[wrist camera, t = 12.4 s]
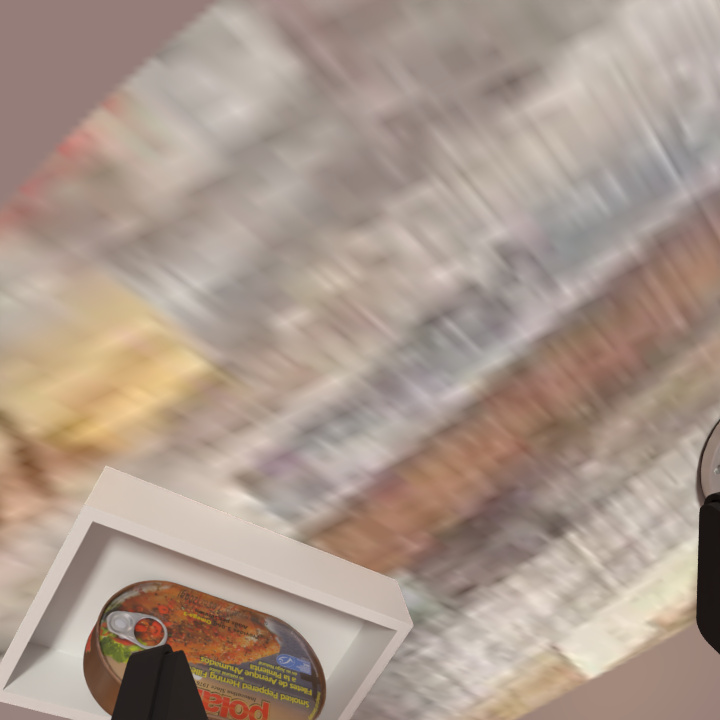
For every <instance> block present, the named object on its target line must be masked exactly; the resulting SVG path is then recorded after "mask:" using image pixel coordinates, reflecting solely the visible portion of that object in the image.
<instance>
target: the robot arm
mask: <svg viewBox="0 0 720 720" xmlns="http://www.w3.org/2000/svg"><path fill="white" fill-rule="evenodd" d="M701 484H702V488H703V493H704V495H705V497H706V499H705V503H704V505H703V506H702V507H701V508H700V512H699V545H698V579H697V614H696V620H697V625H698V628H699V630H700V632H701V634H702V636H703V637H704V638H705V640H706V641H707V642H708V643H709V644H710V645H711V646H712V647H713V648H714V649H715V650H716V651H717V652H718V653H719V654H720V422H719V423H718V425H717V426H716V428H715V430H714V431H713V433H712V435H711V437H710V439H709V441H708V444H707V446H706V449H705V452H704V455H703V461H702V466H701ZM111 720H209V719H208V717H207V714H206V711H205V708H204V705H203V703H202V700H201V697H200V694H199V691H198V689H197V686H196V683H195V680H194V677H193V675H192V672H191V669H190V666H189V663H188V661H187V658H186V655H185V653H184V651H183V650H179V651H175V652H173V650H172V647H171V646H170V645H169V644H164V645H161V646H157V647H153V648H150V649H146V650H142V651H139V652H135V653H132V654H131V655H130V657H129V659H128V661H127V665H126V668H125V672H124V675H123V679H122V682H121V686H120V689H119V693H118V696H117V700H116V703H115V707H114V710H113V714H112V717H111Z"/></svg>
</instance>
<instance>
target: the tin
mask: <svg viewBox="0 0 720 720" xmlns="http://www.w3.org/2000/svg"><path fill="white" fill-rule="evenodd" d="M164 644H169V645H170V646H171V647H172V650H173V652H175V651H179V650H183V651H184V653H185V655H186V658H187V661H188V663H189V666H190V669H191V672H192V675H193V677H194V680H195V683H196V686H197V689H198V691H199V694H200V697H201V700H202V703H203V705H204V708H205V711H206V714H207V717H208V719H209V720H317V718H318V717H319V715H320V714H321V711H322V709H323V707H324V704H325V699H326V680H325V675H324V672H323V668H322V666H321V663H320V661H319V659H318V657H317V655H316V654H315V652H314V650H313V649H312V647H311V646H310V644H309V643H308V642H307V641H306V639H305V638H304V637H303V636H302V635H301V634H300V633H299V632H298V631H297V630H296V629H294V628H293V627H292V626H290V625H289V624H288V623H286V622H284V621H283V620H281V619H279V618H277V617H275V616H272V615H269V614H266V613H263V612H260V611H257V610H254V609H251V608H248V607H245V606H242V605H239V604H236V603H233V602H230V601H227V600H224V599H221V598H218V597H215V596H212V595H210V594H207V593H204V592H201V591H198V590H195V589H192V588H189V587H186V586H183V585H180V584H177V583H173V582H169V581H161V580H148V581H141V582H137V583H133V584H131V585H128V586H126V587H124V588H122V589H121V590H119V591H118V592H116V593H115V594H114V595H113V596H112V597H111V598H110V599H109V600H108V601H107V602H106V604H105V605H104V606H103V608H102V610H101V612H100V614H99V617H98V620H97V622H96V624H95V625H94V627H93V629H92V631H91V633H90V635H89V637H88V639H87V643H86V646H85V650H84V656H83V672H84V677H85V681H86V683H87V686H88V688H89V691H90V692H91V694H92V696H93V698H94V699H95V700H96V702H97V703H98V704H99V706H100V707H101V708H102V709H103V710H104V711H105V712H107V713H108V714H109V715H110V716H112V714H113V710H114V707H115V703H116V700H117V696H118V693H119V689H120V686H121V682H122V679H123V675H124V672H125V668H126V665H127V661H128V659H129V657H130V655H131V654H132V653H135V652H139V651H142V650H146V649H150V648H153V647H157V646H161V645H164Z"/></svg>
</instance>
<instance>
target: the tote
mask: <svg viewBox="0 0 720 720" xmlns="http://www.w3.org/2000/svg"><path fill="white" fill-rule="evenodd" d="M148 580H161V581H169V582H173V583H177V584H180V585H183V586H186V587H189V588H192V589H195V590H198V591H201V592H204V593H207V594H210V595H212V596H215V597H218V598H221V599H224V600H227V601H230V602H233V603H236V604H239V605H242V606H245V607H248V608H251V609H254V610H257V611H260V612H263V613H266V614H269V615H272V616H275V617H277V618H279V619H281V620H283V621H284V622H286V623H288V624H289V625H290V626H292V627H293V628H294V629H296V630H297V631H298V632H299V633H300V634H301V635H302V636H303V637H304V638H305V639H306V641H307V642H308V643H309V644H310V646H311V647H312V649H313V650H314V652H315V654H316V655H317V657H318V659H319V661H320V663H321V666H322V668H323V672H324V675H325V680H326V699H325V704H324V707H323V709H322V711H321V714H320V715H319V717H318V718H317V720H350V718H351V717H352V716H353V714H354V713H355V711H356V710H357V708H358V707H359V705H360V704H361V702H362V701H363V699H364V698H365V696H366V695H367V693H368V692H369V690H370V689H371V687H372V686H373V684H374V683H375V682H376V680H377V679H378V677H379V676H380V674H381V673H382V671H383V670H384V668H385V667H386V665H387V664H388V662H389V661H390V659H391V658H392V656H393V655H394V653H395V652H396V650H397V649H398V648H399V646H400V645H401V643H402V642H403V640H404V639H405V637H406V636H407V634H408V633H409V631H410V630H411V628H412V627H413V623H412V620H411V617H410V615H409V612H408V609H407V607H406V604H405V601H404V598H403V596H402V593H401V590H400V588H399V585H398V582H397V580H395V579H392V578H390V577H387V576H385V575H382V574H380V573H377V572H375V571H372V570H370V569H367V568H365V567H362V566H359V565H357V564H354V563H352V562H349V561H347V560H344V559H342V558H339V557H337V556H334V555H332V554H329V553H327V552H324V551H321V550H319V549H316V548H314V547H311V546H309V545H306V544H304V543H301V542H299V541H296V540H294V539H291V538H289V537H286V536H283V535H281V534H278V533H276V532H273V531H271V530H268V529H266V528H263V527H261V526H258V525H256V524H253V523H251V522H248V521H245V520H243V519H240V518H238V517H235V516H233V515H230V514H228V513H225V512H223V511H220V510H218V509H215V508H213V507H210V506H207V505H205V504H202V503H200V502H197V501H195V500H192V499H190V498H187V497H185V496H182V495H180V494H177V493H175V492H172V491H169V490H167V489H164V488H162V487H159V486H157V485H154V484H152V483H149V482H147V481H144V480H142V479H139V478H137V477H134V476H131V475H129V474H126V473H124V472H121V471H119V470H116V469H114V468H111V467H109V466H105V468H104V470H103V472H102V473H101V475H100V477H99V479H98V481H97V482H96V484H95V486H94V488H93V490H92V491H91V493H90V495H89V497H88V499H87V500H86V502H85V504H84V506H83V508H82V510H81V512H80V513H79V515H78V517H77V519H76V521H75V523H74V525H73V527H72V529H71V531H70V532H69V534H68V536H67V538H66V540H65V542H64V544H63V546H62V548H61V550H60V551H59V553H58V555H57V557H56V559H55V561H54V563H53V565H52V567H51V568H50V570H49V572H48V574H47V576H46V578H45V580H44V582H43V584H42V586H41V587H40V589H39V591H38V593H37V595H36V597H35V599H34V601H33V603H32V605H31V606H30V608H29V610H28V612H27V614H26V616H25V618H24V620H23V622H22V623H21V625H20V627H19V629H18V631H17V633H16V635H15V637H14V639H13V641H12V642H11V644H10V646H9V648H8V650H7V652H6V654H5V656H4V658H3V660H2V661H1V663H0V702H4V703H8V704H12V705H16V706H21V707H25V708H29V709H33V710H37V711H41V712H45V713H49V714H53V715H57V716H61V717H65V718H69V719H74V720H111V717H112V716H110V715H109V714H108V713H107V712H105V711H104V710H103V709H102V708H101V707H100V706H99V704H98V703H97V702H96V700H95V699H94V698H93V696H92V694H91V692H90V691H89V688H88V686H87V683H86V681H85V677H84V672H83V656H84V650H85V646H86V643H87V639H88V637H89V635H90V633H91V631H92V629H93V627H94V625H95V624H96V622H97V620H98V617H99V614H100V612H101V610H102V608H103V606H104V605H105V604H106V602H107V601H108V600H109V599H110V598H111V597H112V596H113V595H114V594H115V593H116V592H118V591H119V590H121V589H122V588H124V587H126V586H128V585H131V584H133V583H137V582H141V581H148Z"/></svg>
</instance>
